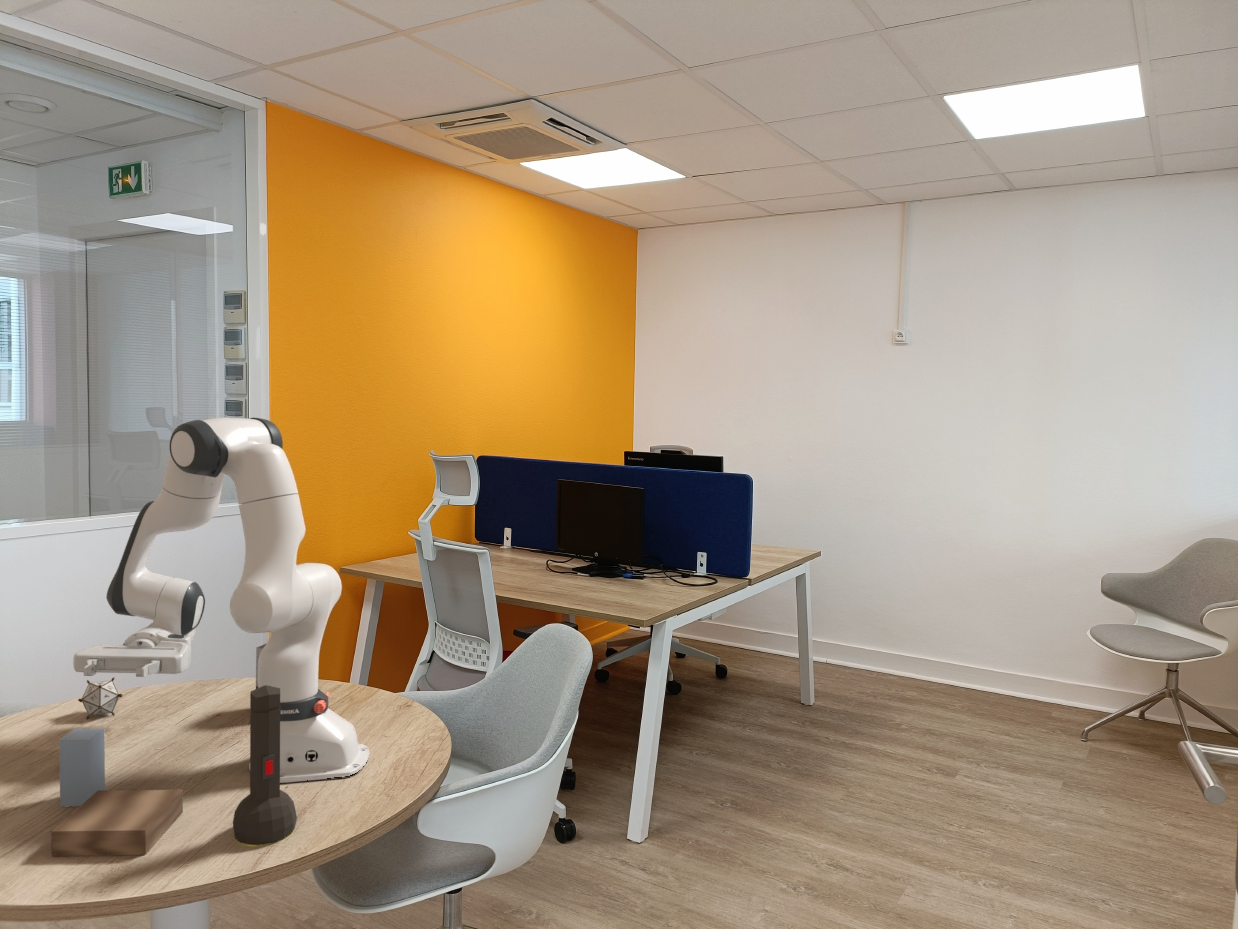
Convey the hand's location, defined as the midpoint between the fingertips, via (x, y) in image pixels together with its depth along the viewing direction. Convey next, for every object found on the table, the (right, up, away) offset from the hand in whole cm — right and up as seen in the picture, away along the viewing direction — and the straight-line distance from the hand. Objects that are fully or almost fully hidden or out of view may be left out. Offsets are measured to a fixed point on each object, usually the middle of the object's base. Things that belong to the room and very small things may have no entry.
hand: (113, 672), depth 162 cm
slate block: (+1, -20, -10) cm, 23 cm away
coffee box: (+18, -18, +34) cm, 43 cm away
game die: (-20, -17, +29) cm, 39 cm away
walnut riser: (+14, -21, -21) cm, 33 cm away
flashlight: (+37, -22, -19) cm, 47 cm away
